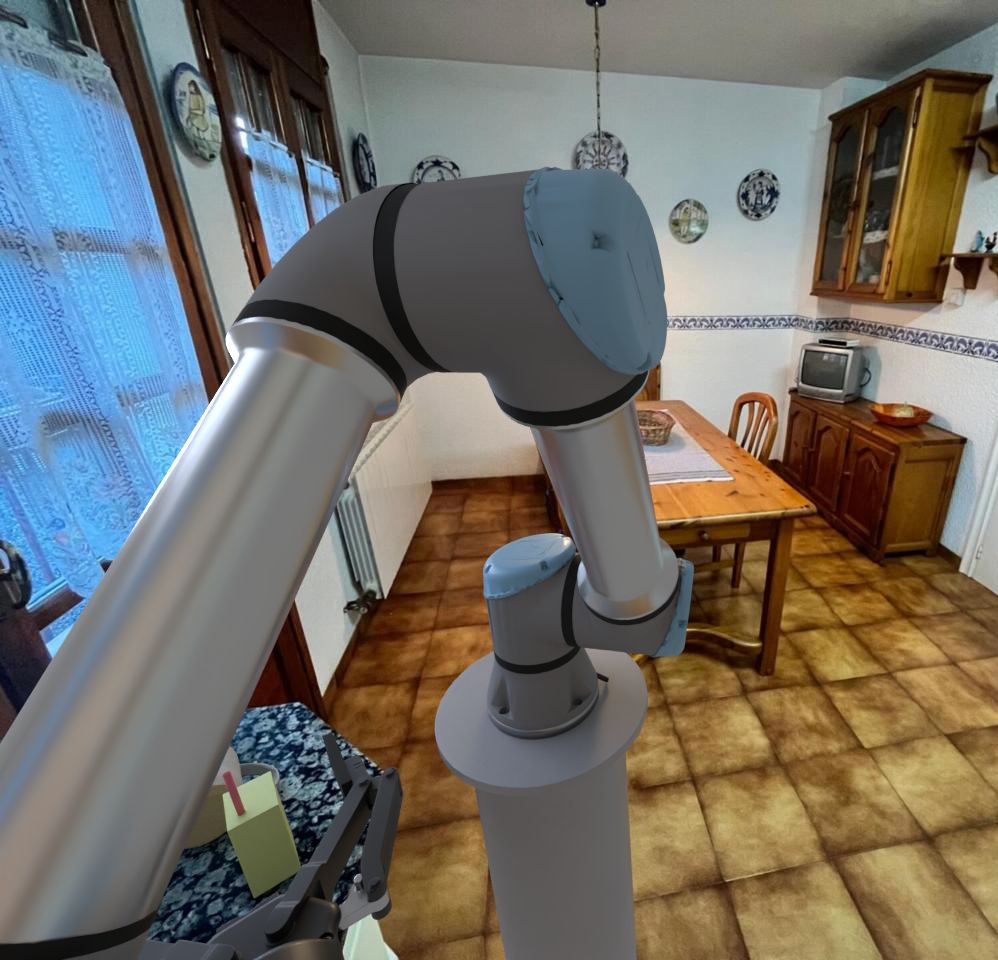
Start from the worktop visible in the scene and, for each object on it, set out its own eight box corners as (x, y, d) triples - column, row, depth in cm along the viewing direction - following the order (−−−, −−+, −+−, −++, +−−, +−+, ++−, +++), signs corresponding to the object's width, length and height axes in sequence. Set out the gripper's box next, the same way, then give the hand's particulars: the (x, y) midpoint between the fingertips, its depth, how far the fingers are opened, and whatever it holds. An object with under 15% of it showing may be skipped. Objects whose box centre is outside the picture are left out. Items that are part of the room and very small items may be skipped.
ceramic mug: (171, 871, 53) (147, 815, 50) (162, 820, 58) (140, 767, 56) (290, 802, 60) (274, 750, 58) (273, 762, 65) (258, 713, 63)
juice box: (292, 833, 56) (257, 731, 52) (301, 869, 53) (264, 763, 48) (247, 859, 54) (206, 754, 49) (254, 898, 50) (210, 789, 46)
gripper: (-110, 1470, 19) (13, 954, 34) (514, 931, 34) (405, 744, 49) (-227, 1388, 16) (-39, 873, 31) (501, 849, 32) (391, 679, 47)
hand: (233, 794), depth 40 cm, fingers open, 13 cm apart
